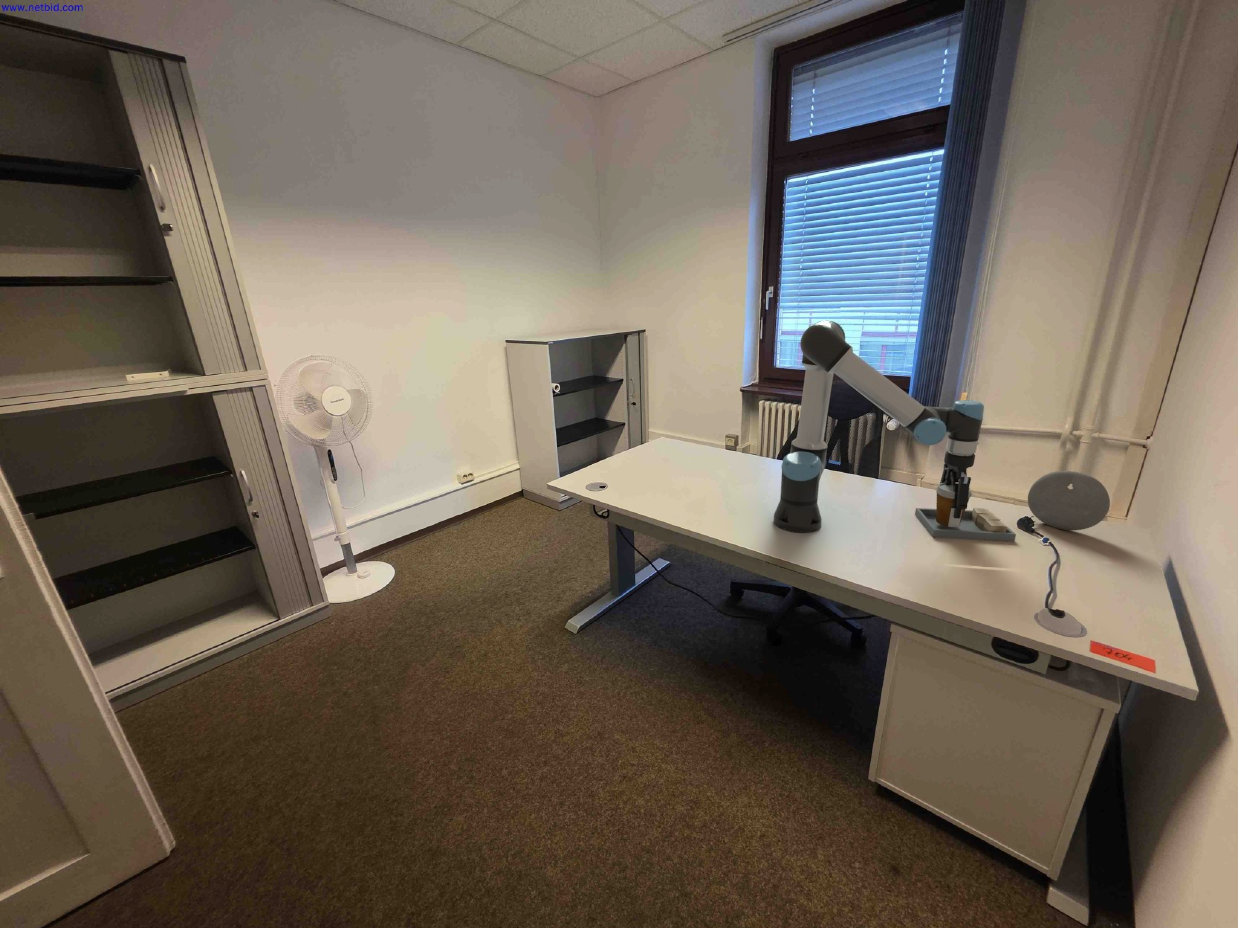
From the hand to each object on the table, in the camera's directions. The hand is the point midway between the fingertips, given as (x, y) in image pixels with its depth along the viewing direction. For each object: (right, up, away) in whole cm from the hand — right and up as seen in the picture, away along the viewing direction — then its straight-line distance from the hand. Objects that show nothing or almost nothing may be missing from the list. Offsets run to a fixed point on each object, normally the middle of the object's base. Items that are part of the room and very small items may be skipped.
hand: (948, 520), depth 155 cm
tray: (+4, -3, 0) cm, 5 cm away
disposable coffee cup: (0, -1, 0) cm, 1 cm away
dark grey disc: (+33, -2, -3) cm, 33 cm away
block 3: (+10, -4, -6) cm, 12 cm away
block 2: (+11, -2, -2) cm, 11 cm away
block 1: (+12, -1, +2) cm, 12 cm away
